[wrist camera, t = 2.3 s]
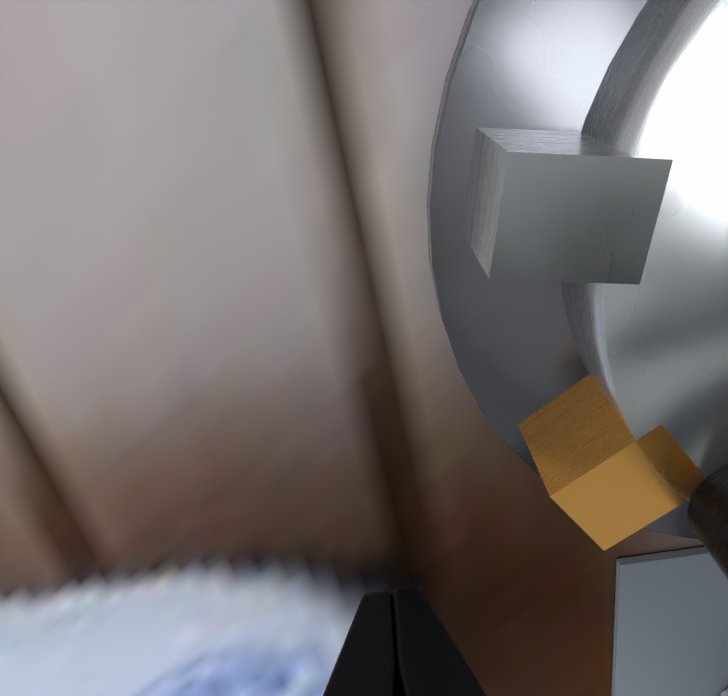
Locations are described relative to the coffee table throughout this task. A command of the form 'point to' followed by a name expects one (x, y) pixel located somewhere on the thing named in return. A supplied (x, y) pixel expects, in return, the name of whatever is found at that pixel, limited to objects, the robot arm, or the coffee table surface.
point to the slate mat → (670, 625)
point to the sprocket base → (450, 187)
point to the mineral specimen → (724, 693)
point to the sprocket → (628, 276)
